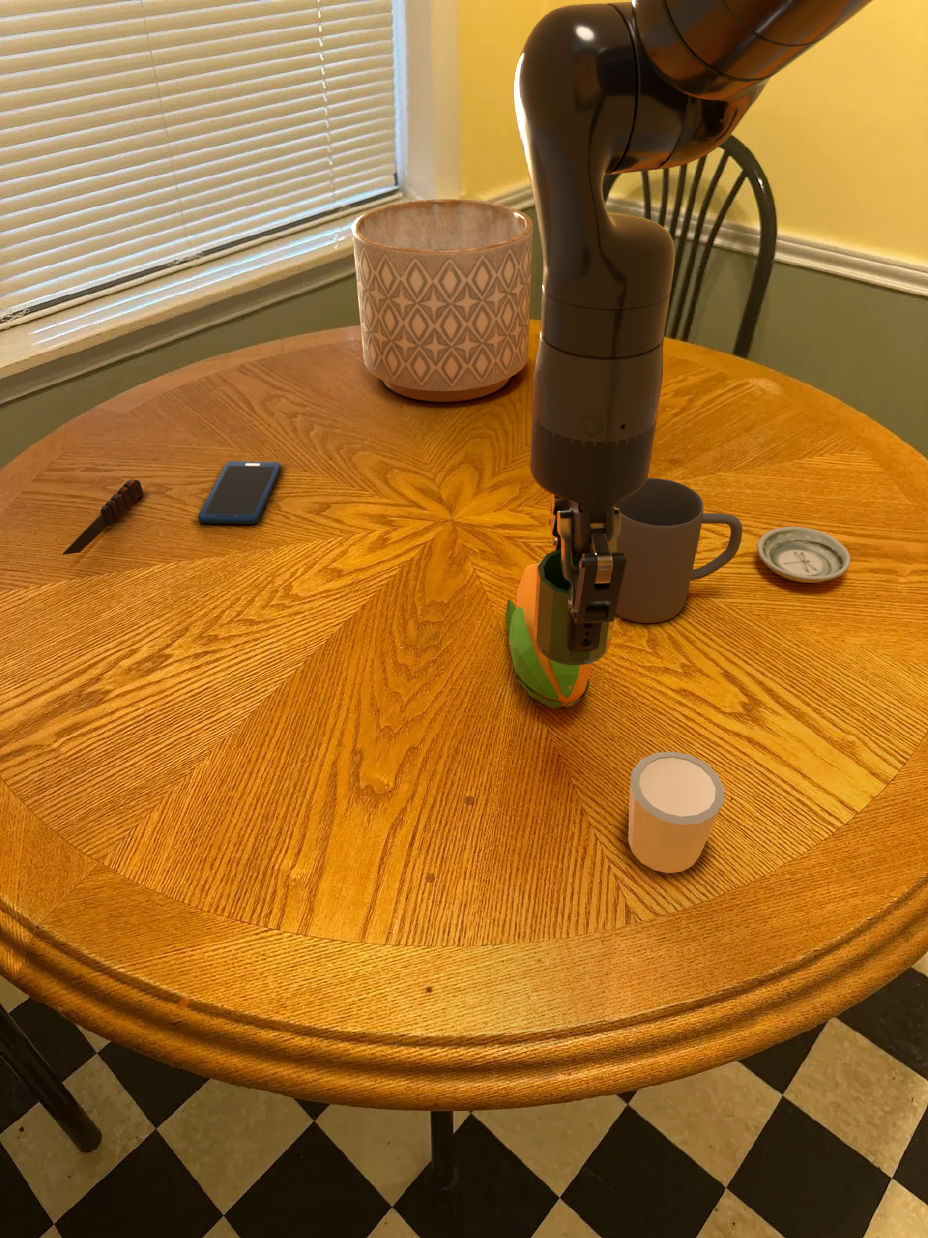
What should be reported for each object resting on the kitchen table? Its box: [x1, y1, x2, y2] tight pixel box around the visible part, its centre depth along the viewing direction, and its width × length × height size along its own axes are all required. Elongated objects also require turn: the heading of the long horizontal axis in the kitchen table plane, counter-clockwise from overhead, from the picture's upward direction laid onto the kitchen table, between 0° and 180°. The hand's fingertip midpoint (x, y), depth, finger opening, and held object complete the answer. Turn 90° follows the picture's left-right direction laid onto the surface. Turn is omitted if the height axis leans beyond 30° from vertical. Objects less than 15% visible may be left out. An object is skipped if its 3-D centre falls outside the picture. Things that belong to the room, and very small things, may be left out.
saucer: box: [756, 526, 851, 584], centre depth 94 cm, size 10×10×2 cm
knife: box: [61, 478, 144, 556], centre depth 101 cm, size 17×1×3 cm, turn 168°
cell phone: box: [197, 460, 282, 525], centre depth 108 cm, size 7×14×1 cm, turn 177°
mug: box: [614, 477, 743, 624], centre depth 88 cm, size 14×9×12 cm
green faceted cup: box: [534, 548, 616, 665], centre depth 62 cm, size 6×6×6 cm
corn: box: [505, 563, 593, 709], centre depth 83 cm, size 7×8×20 cm
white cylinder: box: [627, 750, 725, 874], centre depth 66 cm, size 7×7×7 cm
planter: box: [351, 198, 534, 403], centre depth 128 cm, size 26×26×22 cm
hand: (574, 618), depth 63 cm, fingers closed on green faceted cup, 5 cm apart
